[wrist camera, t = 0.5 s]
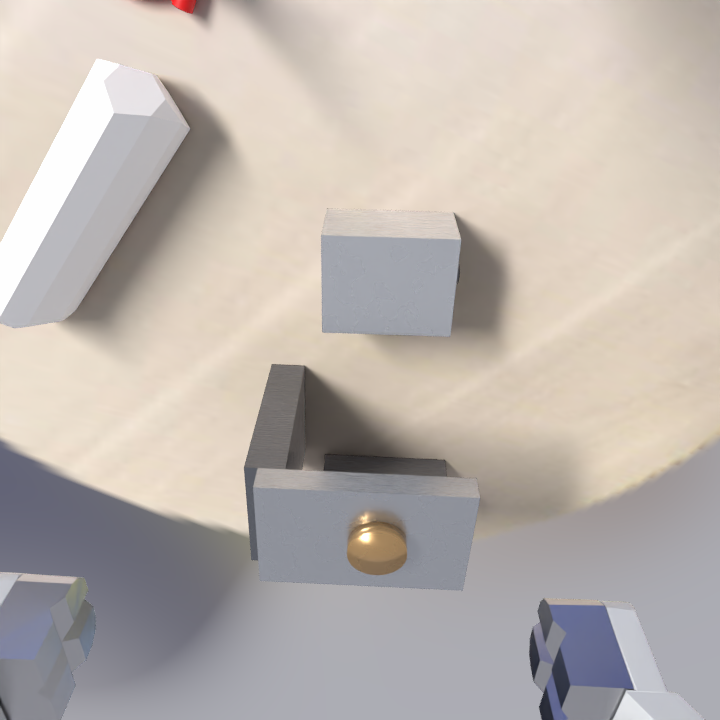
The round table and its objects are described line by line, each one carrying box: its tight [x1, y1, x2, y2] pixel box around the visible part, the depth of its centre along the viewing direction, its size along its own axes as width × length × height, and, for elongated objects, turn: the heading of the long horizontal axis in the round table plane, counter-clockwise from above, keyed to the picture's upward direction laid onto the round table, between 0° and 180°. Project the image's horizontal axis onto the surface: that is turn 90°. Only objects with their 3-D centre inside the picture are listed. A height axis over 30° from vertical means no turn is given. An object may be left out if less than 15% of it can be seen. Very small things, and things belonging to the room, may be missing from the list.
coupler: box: [244, 364, 480, 590], centre depth 54 cm, size 12×17×17 cm
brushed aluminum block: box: [321, 208, 461, 337], centre depth 50 cm, size 8×10×6 cm
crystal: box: [0, 59, 190, 328], centre depth 48 cm, size 7×7×24 cm
